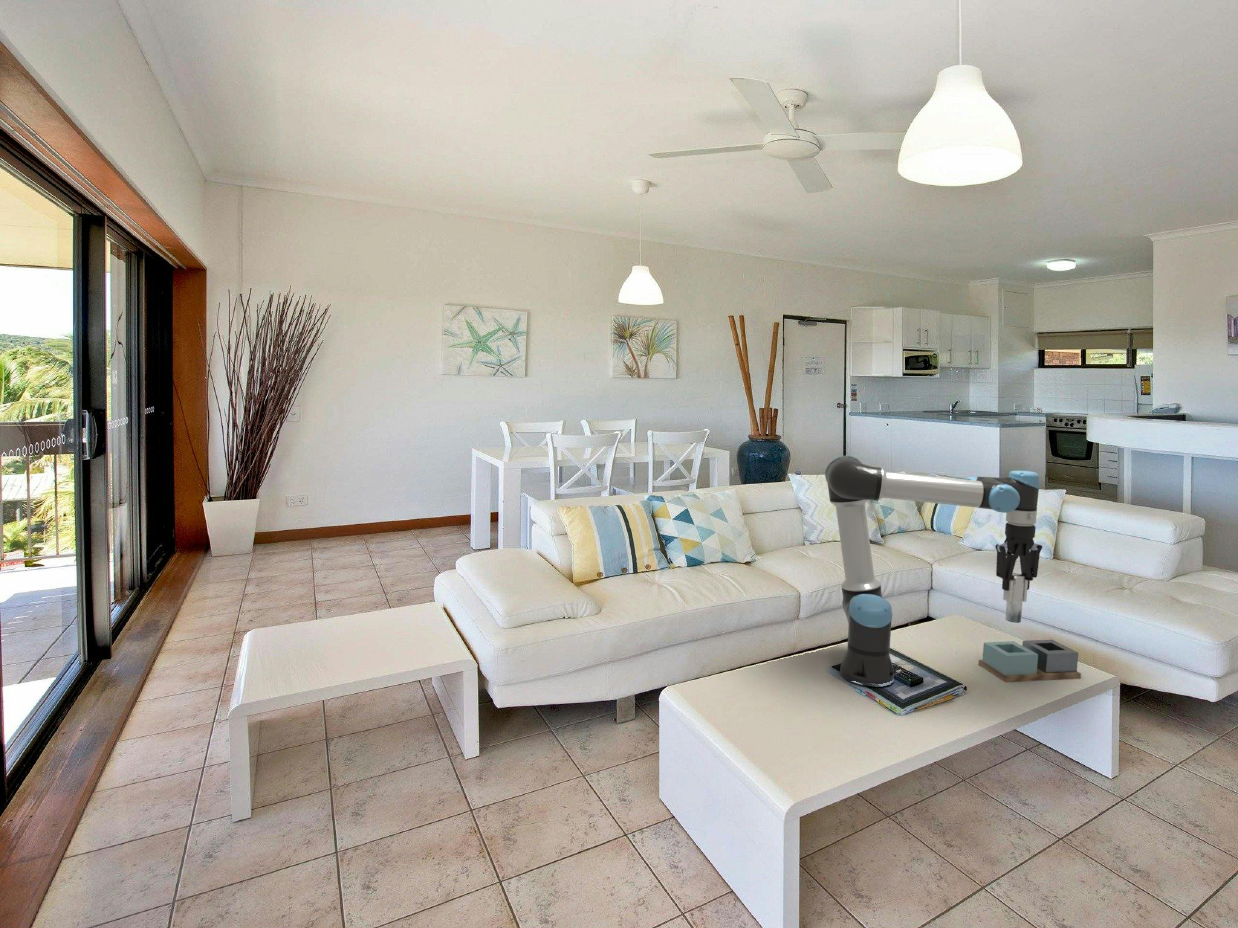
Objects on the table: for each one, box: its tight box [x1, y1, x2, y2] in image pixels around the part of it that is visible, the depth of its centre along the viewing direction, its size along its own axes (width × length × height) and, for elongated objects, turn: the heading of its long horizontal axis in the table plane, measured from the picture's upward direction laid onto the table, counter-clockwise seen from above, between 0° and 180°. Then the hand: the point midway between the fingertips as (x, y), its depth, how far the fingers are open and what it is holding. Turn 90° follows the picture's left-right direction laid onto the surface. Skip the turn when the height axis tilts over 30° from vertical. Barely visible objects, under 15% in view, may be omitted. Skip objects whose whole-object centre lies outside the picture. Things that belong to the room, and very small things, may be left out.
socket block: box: [1021, 639, 1079, 673], centre depth 196 cm, size 10×10×6 cm
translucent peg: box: [1004, 572, 1025, 624], centre depth 192 cm, size 4×4×14 cm
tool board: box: [978, 659, 1082, 683], centre depth 196 cm, size 24×12×2 cm, turn 96°
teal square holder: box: [981, 640, 1038, 675], centre depth 195 cm, size 10×10×6 cm
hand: (1014, 600), depth 192 cm, fingers closed on translucent peg, 4 cm apart
